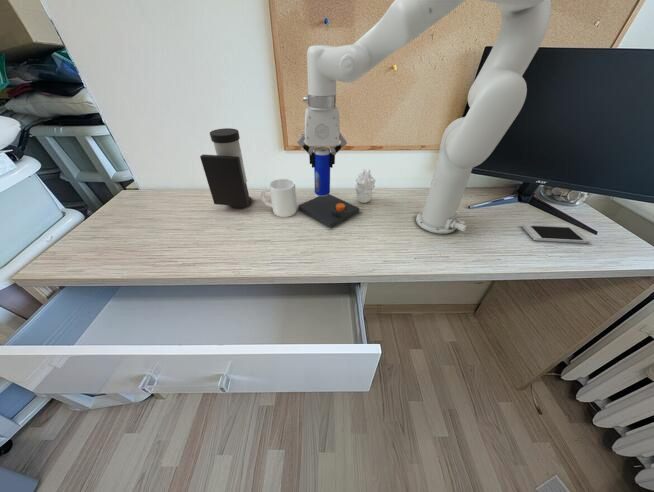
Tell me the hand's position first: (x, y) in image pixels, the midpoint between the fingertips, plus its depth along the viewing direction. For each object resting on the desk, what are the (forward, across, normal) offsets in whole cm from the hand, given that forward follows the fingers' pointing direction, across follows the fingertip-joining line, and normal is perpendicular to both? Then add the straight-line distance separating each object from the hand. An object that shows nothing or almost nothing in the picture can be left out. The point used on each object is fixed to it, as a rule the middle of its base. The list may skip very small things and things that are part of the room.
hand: (322, 165), depth 82 cm
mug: (+16, -15, -2) cm, 22 cm away
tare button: (+12, +6, -6) cm, 15 cm away
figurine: (+16, +15, +5) cm, 22 cm away
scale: (+16, +2, -2) cm, 16 cm away
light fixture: (+16, -30, +2) cm, 34 cm away
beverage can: (+10, 0, 0) cm, 10 cm away
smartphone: (+16, +72, -16) cm, 75 cm away
